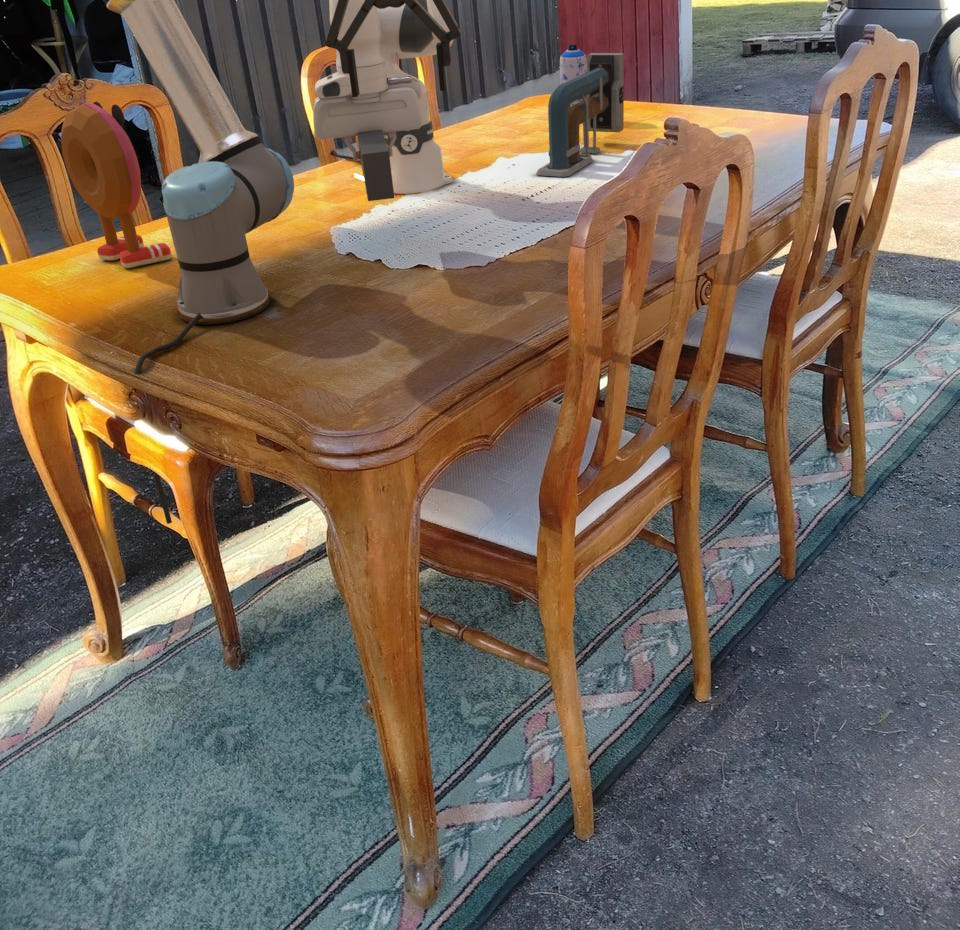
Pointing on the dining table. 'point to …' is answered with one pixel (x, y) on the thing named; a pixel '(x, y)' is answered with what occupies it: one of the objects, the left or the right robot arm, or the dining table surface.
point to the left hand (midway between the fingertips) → (399, 92)
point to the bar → (376, 165)
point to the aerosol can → (572, 66)
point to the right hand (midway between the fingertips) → (372, 158)
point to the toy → (108, 179)
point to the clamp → (584, 113)
